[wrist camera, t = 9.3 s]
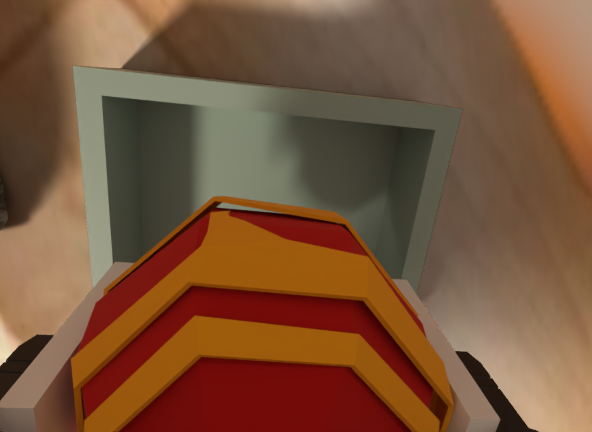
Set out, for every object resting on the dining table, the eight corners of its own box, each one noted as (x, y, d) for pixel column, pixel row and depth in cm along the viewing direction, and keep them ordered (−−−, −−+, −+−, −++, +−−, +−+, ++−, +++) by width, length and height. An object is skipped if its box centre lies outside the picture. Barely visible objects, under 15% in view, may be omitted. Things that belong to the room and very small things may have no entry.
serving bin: (133, 328, 25) (101, 387, 20) (120, 68, 19) (72, 65, 15) (369, 338, 26) (391, 395, 22) (419, 101, 21) (462, 109, 16)
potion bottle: (115, 310, 18) (-492, 1233, 4) (209, 110, 15) (-959, 788, 1) (307, 385, 20) (398, 1116, 6) (420, 226, 17) (1106, 907, 3)
